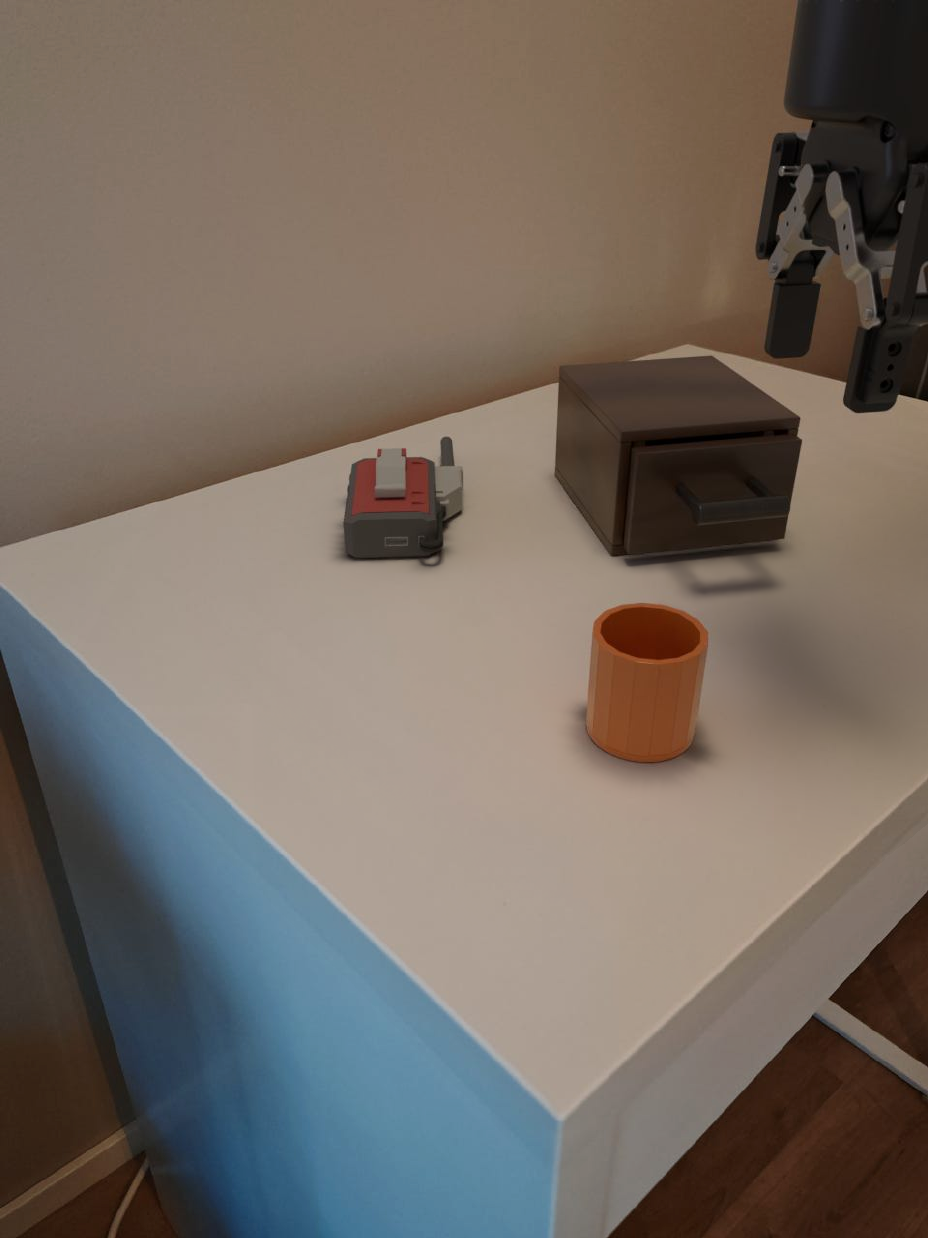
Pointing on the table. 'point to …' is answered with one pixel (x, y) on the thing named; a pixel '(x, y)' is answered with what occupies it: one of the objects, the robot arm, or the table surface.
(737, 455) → the drawer
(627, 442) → the cabinet
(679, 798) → the table surface
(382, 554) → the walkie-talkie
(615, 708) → the orange cup
